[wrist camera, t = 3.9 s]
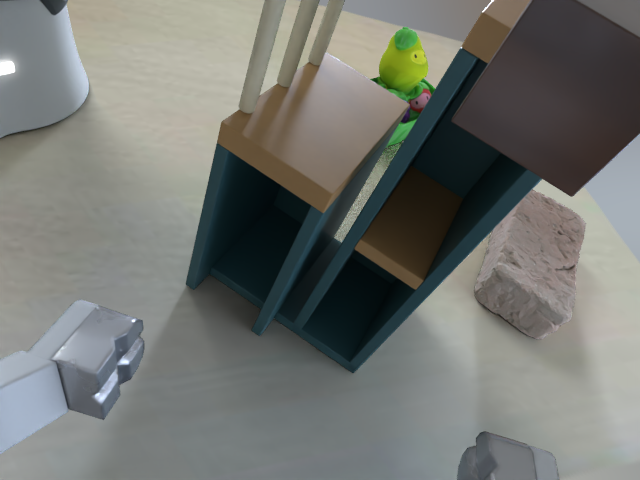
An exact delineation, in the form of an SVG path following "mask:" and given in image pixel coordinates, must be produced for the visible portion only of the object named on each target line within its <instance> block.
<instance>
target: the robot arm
mask: <svg viewBox="0 0 640 480" xmlns="http://www.w3.org/2000/svg"><path fill="white" fill-rule="evenodd" d="M67 1H68V0H0V138H1V137H3V136H5V135H8V134H11V133H16V132H21V131H26V130H31V129H36V128H41V127H44V126H48V125H50V124H53V123H56V122H58V121H60V120H62V119H64V118H66V117H68V116H70V115H71V114H73V113H74V112H75V111H76V110H77V109H78V108H79V107H80V106H81V105H82V104H83V103H84V101H85V99H86V97H87V95H88V91H89V81H88V77H87V75H86V73H85V70H84V68H83V66H82V63H81V61H80V58H79V55H78V52H77V48H76V45H75V41H74V37H73V33H72V29H71V24H70V19H69V15H68V9H67ZM142 331H143V321H142V320H140V319H137V318H134V317H131V316H128V315H125V314H123V313H120V312H117V311H114V310H111V309H108V308H105V307H102V306H100V305H97V304H94V303H91V302H87V301H84V300H81V299H79V300H78V301H76V302H74V303H73V304H71V305H70V307H69V308H68V309H67V310H66V311H65V312H64V313H63V314H62V315H61V316H60V317H59V318H58V319H57V321H56V322H55V323H54V324H53V325H52V326H51V327H50V328H49V329H48V330H47V331H46V332H45V333H44V335H43V336H42V337H41V338H40V339H39V340H38V341H37V342H36V343H35V344H34V345H33V346H32V347H31V349H30V350H29V351H28V352H25V351H22V350H21V351H18V352H16V353H14V354H11V355H9V356H6V357H4V358H2V359H0V454H1V453H3V452H4V451H6V450H7V449H9V448H11V447H12V446H14V445H15V444H17V443H19V442H20V441H22V440H23V439H25V438H27V437H28V436H30V435H31V434H33V433H35V432H36V431H38V430H39V429H41V428H43V427H44V426H46V425H47V424H49V423H51V422H52V421H54V420H55V419H57V418H59V417H60V416H62V415H63V414H65V413H67V412H68V409H70V410H74V411H77V412H80V413H83V414H87V415H90V416H93V417H96V418H99V419H103V420H104V419H105V417H106V416H107V414H108V413H109V411H110V410H111V408H112V407H113V405H114V404H115V402H116V401H117V399H118V398H119V396H120V386H119V385H120V384H122V383H124V382H126V381H128V380H130V379H131V378H132V377H133V375H134V373H135V372H136V370H137V369H138V366H139V364H140V362H141V359H142V357H143V353H144V341H143V339H142V338H141V337H140V336H139V335H140V334H141V332H142ZM457 480H559V475H558V470H557V464H556V459H555V457H554V456H553V454H552V453H550V452H548V451H545V450H542V449H538V448H535V447H532V446H529V445H527V444H525V443H521V442H518V441H515V440H512V439H508V438H505V437H502V436H499V435H495V434H492V433H489V432H486V431H484V432H481V433H480V434H479V435H478V436H477V437H476V446H473V447H469V448H467V450H466V451H465V452H464V454H463V455H462V458H461V461H460V464H459V467H458V475H457Z"/></svg>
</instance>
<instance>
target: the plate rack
mask: <svg viewBox="0 0 640 480" xmlns="http://www.w3.org/2000/svg"><path fill="white" fill-rule="evenodd" d="M319 1H320V0H301V3H300V6H299V10H298V13H297V16H296V19H295V23H294V26H293V29H292V32H291V36H290V39H289V42H288V46H287V49H286V52H285V55H284V59H283V62H282V65H281V68H280V72H279V75H278V78H277V82H278V84H276V85H275V86H273V87H272V88H270V89H269V90H267V91H266V92H264V93H263V94H262V95H260V96H259V94H260V91H261V87H262V84H263V80H264V77H265V73H266V69H267V66H268V62H269V59H270V55H271V52H272V48H273V45H274V41H275V37H276V34H277V30H278V27H279V23H280V20H281V16H282V13H283V9H284V5H285V2H286V0H265V2H264V6H263V10H262V14H261V18H260V22H259V26H258V30H257V34H256V38H255V42H254V46H253V50H252V54H251V58H250V62H249V66H248V70H247V74H246V78H245V83H244V87H243V91H242V95H241V99H240V103H239V108H240V110H238V111H237V112H235V113H234V114H232V115H231V116H229V117H228V118H226V119H225V120H223V121H222V122H221V127H220V131H219V136H218V140H217V145H216V150H215V154H214V159H213V163H212V168H211V172H210V177H209V181H208V186H207V190H206V195H205V199H204V204H203V208H202V213H201V217H200V222H199V226H198V231H197V235H196V240H195V245H194V249H193V254H192V258H191V263H190V267H189V272H188V276H187V281H186V285H187V286H189V287H190V288H192V289H193V290H194V289H195V288H196V287H197V286H198V285H199V284H200V283H201V282H202V281H203V280H204V279H205V278H206V277H207V276H208V275H209V274H211V275H212V276H214V277H215V278H217V279H218V280H220V281H221V282H222V283H224V284H225V285H227V286H228V287H230V288H231V289H232V290H234V291H235V292H237V293H238V294H240V295H241V296H243V297H244V298H245V299H247V300H248V301H250V302H251V303H253V304H254V305H256V306H257V307H258V308H260V309H261V311H260V314H259V316H258V318H257V320H256V322H255V324H254V326H253V328H252V331H253V332H254V333H256V334H257V335H259V336H261V334H262V333H263V332H264V330H265V329H266V328H267V326H268V325H269V324H270V322H271V321H272V320H273V318H274V319H276V320H277V321H279V322H280V323H281V324H283V325H284V326H286V327H287V328H289V329H290V330H292V331H293V332H294V333H296V334H297V335H299V336H300V337H302V338H303V339H304V340H306V341H307V342H309V343H310V344H312V345H313V346H315V347H316V348H317V349H319V350H320V351H322V352H323V353H325V354H326V355H328V356H329V357H330V358H332V359H333V360H335V361H336V362H338V363H339V364H340V365H342V366H343V367H345V368H346V369H348V370H349V371H351V372H352V373H354V372H355V371H356V370H357V369H358V368H359V367H360V366H361V365H362V364H363V363H364V362H365V361H366V360H367V359H368V358H369V357H370V356H371V355H372V354H373V353H374V352H375V351H376V350H377V349H378V347H379V346H380V345H381V344H382V343H383V342H384V341H385V340H386V339H387V338H388V337H389V336H390V335H391V334H392V333H393V332H394V331H395V330H396V329H397V328H398V327H399V326H400V325H401V324H402V323H403V322H404V321H405V320H406V319H407V318H408V317H409V316H410V315H411V314H412V312H413V311H414V310H415V309H416V308H417V307H418V306H419V305H420V304H421V303H422V302H423V301H424V300H425V299H426V298H427V297H428V296H429V295H430V294H431V293H432V292H433V291H434V290H435V289H436V288H437V287H438V286H439V285H440V284H441V283H442V282H443V281H444V280H445V279H446V277H447V276H448V275H449V274H450V273H451V272H452V271H453V270H454V269H455V268H456V267H457V266H458V265H459V264H460V263H461V262H462V261H463V260H464V259H465V258H466V257H467V256H468V255H469V254H470V253H471V252H472V251H473V250H474V249H475V248H476V247H477V246H478V245H479V244H480V242H481V241H482V240H483V239H484V238H485V237H486V236H487V235H488V234H489V233H490V232H491V231H492V230H493V229H494V228H495V227H496V226H497V225H498V224H499V223H500V222H501V221H502V220H503V219H504V218H505V217H506V216H507V215H508V214H509V213H510V212H511V211H512V210H513V209H514V207H515V206H516V205H517V204H518V203H519V202H520V201H521V200H522V199H523V198H524V197H525V196H526V195H527V194H528V193H529V192H530V191H531V190H532V189H533V188H534V187H535V186H536V185H537V184H538V183H539V182H540V181H541V180H542V178H540V177H539V176H537V175H536V174H534V173H532V172H531V171H529V170H528V169H526V168H524V167H523V166H521V165H520V164H518V163H516V162H515V161H513V160H512V159H510V158H509V157H507V156H505V155H504V154H502V153H501V152H499V151H497V150H496V149H494V148H493V147H491V146H489V145H488V144H486V143H485V142H483V141H481V140H480V139H478V138H477V137H475V136H473V135H472V134H470V133H469V132H467V131H465V130H464V129H462V128H461V127H459V126H457V125H456V124H454V123H453V122H452V121H451V120H452V118H453V116H454V115H455V113H456V112H457V110H458V109H459V107H460V106H461V104H462V103H463V101H464V100H465V98H466V97H467V95H468V94H469V92H470V90H471V89H472V87H473V86H474V84H475V83H476V81H477V80H478V78H479V77H480V75H481V74H482V72H483V71H484V69H485V68H486V66H487V65H488V63H489V62H490V60H491V59H492V57H493V56H494V54H495V53H496V51H497V50H498V48H499V47H500V45H501V44H502V42H503V40H504V39H505V37H506V36H507V34H508V33H509V31H510V30H511V28H512V27H513V25H514V24H515V22H516V21H517V19H518V18H519V16H520V15H521V13H522V12H523V10H524V9H525V7H526V6H527V4H528V3H529V1H530V0H493V1H492V2H491V3H490V4H489V5H488V6H487V7H486V9H485V10H484V11H483V12H482V13H481V15H480V17H479V18H478V20H477V21H476V23H475V25H474V27H473V28H472V30H471V31H470V33H469V35H468V36H467V38H466V39H465V41H464V43H463V44H462V47H461V48H460V49H459V51H458V53H457V54H456V56H455V58H454V59H453V61H452V63H451V64H450V66H449V68H448V69H447V71H446V72H445V74H444V76H443V77H442V79H441V81H440V82H439V84H438V86H437V87H436V89H435V91H434V92H433V94H432V96H431V97H430V99H429V100H428V102H427V104H426V105H425V107H424V109H423V110H422V112H421V114H420V115H419V117H418V119H417V120H416V122H415V123H414V125H413V127H412V128H411V130H410V132H409V133H408V135H407V137H406V138H405V140H404V142H403V143H402V145H401V147H400V148H399V150H398V151H397V153H396V155H395V156H394V158H393V160H392V161H391V163H390V165H389V166H388V168H387V170H386V171H385V173H384V174H383V176H382V178H381V179H380V181H379V183H378V184H377V186H376V188H375V189H374V191H373V193H372V194H371V196H370V198H369V199H368V201H367V202H366V204H365V206H364V207H363V209H362V211H361V212H360V214H359V216H358V217H357V219H356V221H355V222H354V224H353V225H352V227H351V229H350V230H349V232H348V234H347V235H346V237H345V239H344V240H343V242H342V243H341V242H339V241H338V240H336V239H335V238H334V236H335V234H336V232H337V231H338V229H339V227H340V225H341V224H342V222H343V220H344V219H345V217H346V215H347V213H348V212H349V210H350V208H351V206H352V205H353V203H354V201H355V200H356V198H357V196H358V194H359V193H360V191H361V189H362V187H363V186H364V184H365V182H366V180H367V179H368V177H369V175H370V174H371V172H372V170H373V168H374V167H375V165H376V163H377V161H378V160H379V158H380V156H381V155H382V153H383V151H384V149H385V148H386V146H387V144H388V142H389V141H390V139H391V137H392V135H393V134H394V132H395V130H396V129H397V127H398V125H399V123H400V122H401V120H402V118H403V116H404V115H405V113H406V111H407V110H408V108H409V106H410V104H408V103H407V102H405V101H403V100H402V99H400V98H399V97H397V96H396V95H394V94H392V93H391V92H389V91H388V90H386V89H384V88H383V87H381V86H380V85H378V84H376V83H375V82H373V81H372V80H370V79H369V78H367V77H365V76H364V75H362V74H361V73H359V72H357V71H356V70H354V69H353V68H351V67H349V66H348V65H346V64H345V63H343V62H341V61H340V60H338V59H337V58H335V57H334V56H332V55H330V54H329V53H327V52H326V50H327V47H328V45H329V42H330V39H331V37H332V34H333V31H334V29H335V26H336V23H337V21H338V18H339V15H340V13H341V10H342V7H343V5H344V2H345V0H329V2H328V4H327V7H326V10H325V13H324V16H323V19H322V22H321V24H320V27H319V30H318V33H317V36H316V39H315V42H314V44H313V47H312V50H311V53H310V56H309V63H307V64H306V65H304V66H303V67H301V68H300V69H298V70H297V71H296V69H297V66H298V63H299V60H300V57H301V54H302V51H303V48H304V45H305V42H306V40H307V37H308V34H309V31H310V28H311V25H312V22H313V19H314V16H315V13H316V10H317V7H318V4H319Z"/></svg>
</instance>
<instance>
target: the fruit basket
mask: <svg viewBox="0 0 640 480" xmlns="http://www.w3.org/2000/svg"><path fill="white" fill-rule="evenodd" d="M427 73H428V62H427V58H426V55H425V52H424V50H423V48H422V45H421V41H420V39H419V37H418V36H417V34H416V32H415V31H413V30H410V29H409V28H408V27H403V28H402V29H401V30H399V31H397V32H396V33H395V35H394V36H393V37H392V38H391V40H390V42H389V45H388V48H387V50H386V51H385V53H384V54H383V56H382V58H381V61H380V65H379V74H380V77H377V78H373V79H370V80H372V81H373V82H375V83H376V84H378V85H380V86H381V87H383V88H384V89H386V90H388V91H389V92H391V93H392V94H394V95H396V96H397V97H399V98H400V99H402V100H403V101H405V102H407V103H408V104H410V106H409V108H408V110H407V111H406V113H405V115H404V116H403V118H402V120H401V122H400V123H399V125H398V127H397V129H396V130H395V132H394V134H393V135H392V137H391V139H390V141H389V142H388V144H387V146H386V147H388V146H389V145H394V144H397V143H399V142H401V141H402V140H405V138H406V137H407V135H408V133H409V132H410V130H411V128H412V127H413V125H414V123H415V122H416V120H417V119H418V117H419V115H420V114H421V112H422V110H423V109H424V107H425V105H426V104H427V102H428V100H429V99H430V97H431V96H432V94H433V92H434V91H435V88H434V87H433V86H432V85H431V84H429V83H428V82H427V81H426V80H425V79H424V77H426V75H427Z"/></svg>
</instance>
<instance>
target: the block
mask: <svg viewBox="0 0 640 480" xmlns="http://www.w3.org/2000/svg"><path fill="white" fill-rule="evenodd" d="M451 121H452V122H453V123H454V124H456V125H457V126H459V127H461V128H462V129H464V130H465V131H467V132H469V133H470V134H472V135H473V136H475V137H477V138H478V139H480V140H481V141H483V142H485V143H486V144H488V145H489V146H491V147H493V148H494V149H496V150H497V151H499V152H501V153H502V154H504V155H505V156H507V157H509V158H510V159H512V160H513V161H515V162H516V163H518V164H520V165H521V166H523V167H524V168H526V169H528V170H529V171H531V172H532V173H534V174H536V175H537V176H539V177H540V178H542V179H544V180H545V181H547V182H548V183H550V184H552V185H553V186H555V187H556V188H558V189H560V190H561V191H563V192H564V193H566V194H568V195H569V196H571V197H572V196H574V195H575V194H576V193H577V192H578V191H579V190H580V189H582V188H583V187H584V186H585V185H586V184H587V183H588V182H589V181H590V180H591V179H592V178H593V177H594V176H596V175H597V174H598V173H599V172H600V171H601V170H602V169H603V168H604V167H605V166H606V165H607V164H609V163H610V162H611V161H612V160H613V159H614V158H615V157H616V156H617V155H618V154H619V153H621V152H622V151H623V150H624V149H625V148H626V147H627V146H628V145H629V144H630V143H631V142H632V141H633V140H635V139H636V138H637V137H638V136H639V135H640V0H530V1H529V3H528V4H527V6H526V7H525V9H524V10H523V12H522V13H521V15H520V16H519V18H518V19H517V21H516V22H515V24H514V25H513V27H512V28H511V30H510V31H509V33H508V34H507V36H506V37H505V39H504V40H503V42H502V44H501V45H500V47H499V48H498V50H497V51H496V53H495V54H494V56H493V57H492V59H491V60H490V62H489V63H488V65H487V66H486V68H485V69H484V71H483V72H482V74H481V75H480V77H479V78H478V80H477V81H476V83H475V84H474V86H473V87H472V89H471V90H470V92H469V94H468V95H467V97H466V98H465V100H464V101H463V103H462V104H461V106H460V107H459V109H458V110H457V112H456V113H455V115H454V116H453V118H452V120H451Z"/></svg>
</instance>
